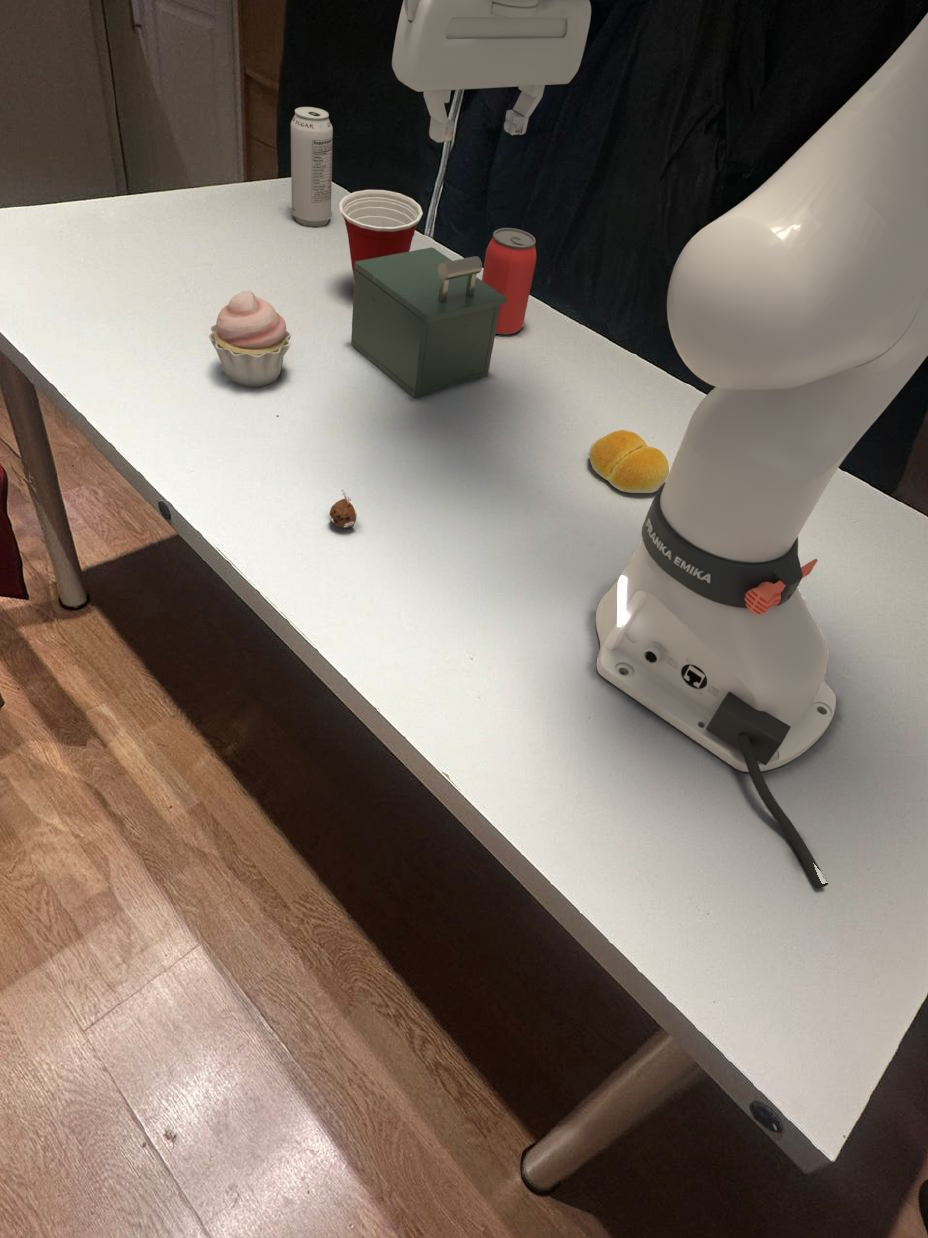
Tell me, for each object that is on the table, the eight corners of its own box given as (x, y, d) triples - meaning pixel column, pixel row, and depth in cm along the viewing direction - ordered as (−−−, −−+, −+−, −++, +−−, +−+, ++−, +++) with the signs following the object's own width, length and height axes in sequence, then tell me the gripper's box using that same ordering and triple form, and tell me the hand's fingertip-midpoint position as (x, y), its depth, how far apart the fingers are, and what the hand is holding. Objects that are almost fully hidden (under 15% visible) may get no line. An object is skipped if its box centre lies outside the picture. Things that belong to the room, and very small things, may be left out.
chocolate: (322, 518, 81) (323, 486, 78) (343, 513, 82) (344, 480, 79) (337, 537, 79) (338, 504, 76) (357, 531, 80) (359, 498, 77)
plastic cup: (321, 297, 112) (323, 205, 103) (359, 269, 119) (363, 181, 111) (393, 321, 110) (400, 229, 101) (426, 292, 117) (436, 204, 109)
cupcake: (301, 392, 95) (300, 309, 88) (218, 397, 92) (211, 312, 85) (284, 350, 101) (283, 270, 94) (206, 354, 98) (198, 271, 91)
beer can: (491, 339, 110) (506, 249, 102) (466, 316, 114) (479, 227, 105) (531, 333, 113) (549, 245, 105) (506, 310, 117) (521, 223, 108)
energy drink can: (310, 208, 132) (310, 102, 121) (338, 221, 130) (341, 115, 119) (283, 217, 128) (281, 109, 117) (312, 230, 126) (313, 121, 116)
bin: (487, 375, 104) (501, 301, 97) (414, 397, 98) (422, 320, 91) (423, 326, 110) (431, 253, 103) (350, 344, 104) (354, 268, 97)
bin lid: (505, 303, 96) (513, 260, 93) (427, 323, 90) (432, 277, 87) (431, 253, 103) (436, 211, 100) (354, 268, 97) (356, 223, 94)
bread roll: (633, 506, 89) (644, 476, 86) (575, 462, 93) (584, 433, 90) (680, 482, 93) (692, 453, 91) (623, 441, 98) (632, 412, 95)
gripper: (434, -35, 63) (411, 158, 73) (614, -27, 73) (572, 141, 84) (386, -59, 66) (371, 130, 76) (567, -48, 76) (532, 117, 86)
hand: (478, 136), depth 80 cm, fingers open, 8 cm apart
